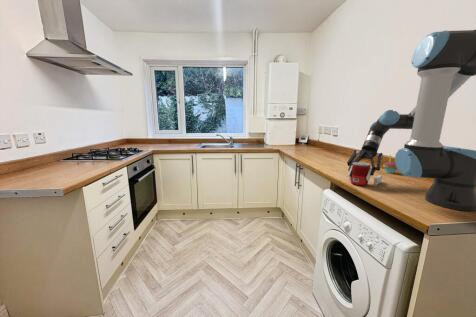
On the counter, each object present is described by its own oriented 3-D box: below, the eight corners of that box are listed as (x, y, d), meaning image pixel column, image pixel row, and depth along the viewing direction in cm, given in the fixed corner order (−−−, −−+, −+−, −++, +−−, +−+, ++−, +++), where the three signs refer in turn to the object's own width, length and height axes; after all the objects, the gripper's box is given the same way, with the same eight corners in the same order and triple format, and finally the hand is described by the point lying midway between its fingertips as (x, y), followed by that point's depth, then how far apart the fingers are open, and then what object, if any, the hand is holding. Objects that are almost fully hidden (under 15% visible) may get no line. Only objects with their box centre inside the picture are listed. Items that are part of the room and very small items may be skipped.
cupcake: (378, 171, 137) (381, 153, 135) (390, 170, 138) (393, 153, 136) (389, 174, 129) (392, 155, 126) (401, 174, 129) (404, 155, 127)
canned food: (369, 186, 103) (372, 165, 101) (352, 185, 105) (354, 164, 103) (365, 182, 110) (367, 162, 108) (348, 180, 112) (350, 161, 110)
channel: (354, 176, 122) (355, 171, 121) (381, 181, 112) (381, 175, 112) (349, 179, 116) (349, 173, 115) (376, 185, 106) (377, 178, 106)
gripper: (394, 151, 107) (382, 186, 100) (352, 147, 122) (338, 177, 115) (394, 142, 103) (381, 178, 95) (350, 139, 118) (335, 170, 110)
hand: (357, 177), depth 105 cm, fingers closed on canned food, 8 cm apart
